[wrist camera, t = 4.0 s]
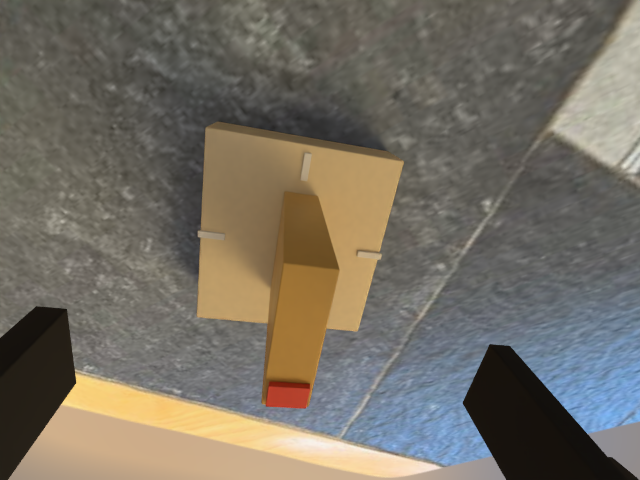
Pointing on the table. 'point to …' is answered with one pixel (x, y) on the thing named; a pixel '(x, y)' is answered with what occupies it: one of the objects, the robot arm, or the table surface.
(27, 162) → the table surface
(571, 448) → the robot arm
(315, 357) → the lock knob
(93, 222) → the table surface
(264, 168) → the panel
